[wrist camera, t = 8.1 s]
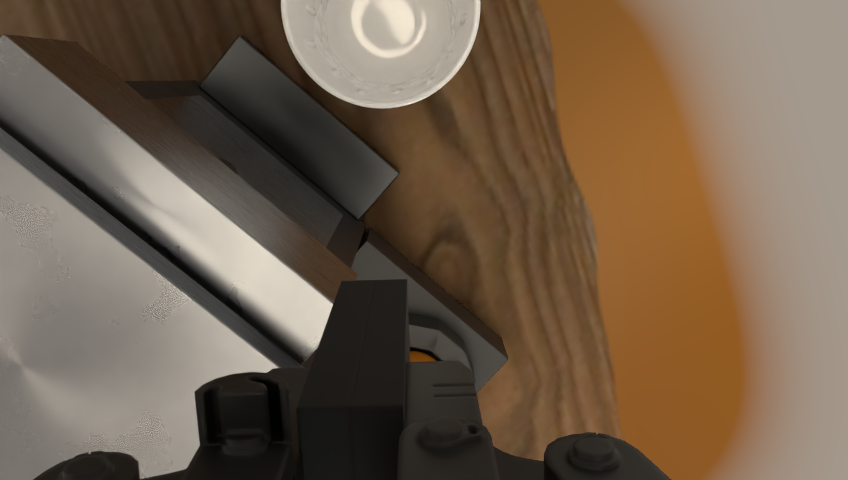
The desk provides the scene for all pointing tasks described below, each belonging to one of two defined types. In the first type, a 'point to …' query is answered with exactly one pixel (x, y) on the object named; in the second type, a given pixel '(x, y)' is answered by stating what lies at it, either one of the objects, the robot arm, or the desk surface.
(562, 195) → the desk surface
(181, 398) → the coffee machine
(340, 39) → the white cup
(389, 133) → the desk surface
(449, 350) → the button base
